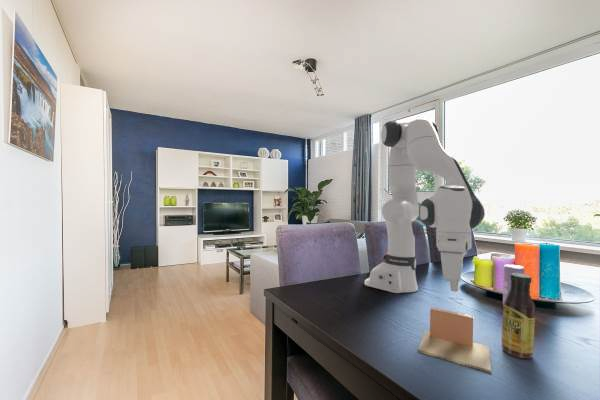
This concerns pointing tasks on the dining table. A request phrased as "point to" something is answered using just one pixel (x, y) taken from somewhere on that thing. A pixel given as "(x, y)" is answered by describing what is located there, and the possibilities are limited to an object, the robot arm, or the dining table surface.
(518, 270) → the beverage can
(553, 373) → the dining table surface
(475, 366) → the oak board
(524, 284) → the sauce bottle
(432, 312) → the tile
